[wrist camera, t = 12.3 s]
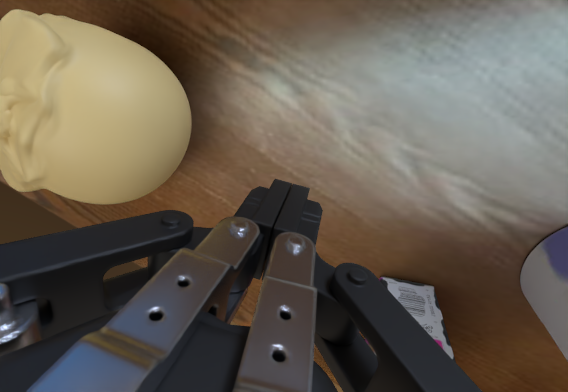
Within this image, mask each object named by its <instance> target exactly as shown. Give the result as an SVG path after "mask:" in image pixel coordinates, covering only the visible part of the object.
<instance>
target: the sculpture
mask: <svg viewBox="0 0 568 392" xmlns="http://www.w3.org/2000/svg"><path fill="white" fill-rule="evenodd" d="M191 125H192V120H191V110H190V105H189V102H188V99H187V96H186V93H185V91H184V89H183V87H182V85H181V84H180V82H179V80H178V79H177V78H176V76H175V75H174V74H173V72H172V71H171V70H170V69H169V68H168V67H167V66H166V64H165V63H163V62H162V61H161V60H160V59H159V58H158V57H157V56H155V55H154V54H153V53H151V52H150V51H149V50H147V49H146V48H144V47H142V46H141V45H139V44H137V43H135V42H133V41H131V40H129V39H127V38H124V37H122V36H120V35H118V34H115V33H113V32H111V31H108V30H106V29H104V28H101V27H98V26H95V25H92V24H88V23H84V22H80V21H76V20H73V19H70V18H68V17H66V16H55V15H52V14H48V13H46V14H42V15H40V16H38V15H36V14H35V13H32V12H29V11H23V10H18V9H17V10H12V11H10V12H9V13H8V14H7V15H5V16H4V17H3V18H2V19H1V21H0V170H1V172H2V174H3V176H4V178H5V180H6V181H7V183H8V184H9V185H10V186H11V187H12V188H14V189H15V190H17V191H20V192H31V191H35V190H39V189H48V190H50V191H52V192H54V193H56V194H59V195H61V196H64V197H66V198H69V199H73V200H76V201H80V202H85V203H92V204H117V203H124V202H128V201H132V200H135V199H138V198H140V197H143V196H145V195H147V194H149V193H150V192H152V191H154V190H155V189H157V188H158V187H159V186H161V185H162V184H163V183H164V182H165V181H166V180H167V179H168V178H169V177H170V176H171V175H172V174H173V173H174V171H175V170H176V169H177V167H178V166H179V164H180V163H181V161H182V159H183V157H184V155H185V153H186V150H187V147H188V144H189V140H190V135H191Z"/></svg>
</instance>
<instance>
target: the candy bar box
mask: <svg viewBox="0 0 568 392" xmlns="http://www.w3.org/2000/svg"><path fill="white" fill-rule="evenodd" d="M379 281H380V282H381V283H382V284H383V285H384V286H385V287H386V288H387V289H388V290H389V291H390V292H391V293H392V295H393V296H394V297H395V298H396V299H397V300H398V301H399V302H400V303H401V304H402V305H403V306H404V308H405V309H406V310H407V311H408V312H409V313H410V314H411V315H412V316H413V317H414V318H415V319H416V321H417V322H418V323H419V324H420V325H421V326H422V327H423V328H424V329H425V330H426V331H427V332H428V334H429V335H430V336H431V337H432V338H433V339H434V340H435V341H436V342H437V343H438V344H439V345H440V347H441V348H442V349H443V350H444V351H445V352H446V353H447V354H448V355H449V356H450V357H451V358H452V359H453V361H454V362H455V358H454V355H453V351H452V348H451V345H450V341H449V338H448V335H447V331H446V328H445V324H444V321H443V317H442V313H441V311H440V307H439V304H438V300H437V297H436V294H435V290H434V286H431V285H426V284H421V283H414V282H409V281H404V280H399V279H394V278H388V277H380V279H379ZM365 341H366V343H367V344H368V345H369V347H370V348H371V349H372V351H373V352H374V353H375V351H374V349H373V348H372V347H371V345H370V344H369V343H368V341H367V340H366V338H365ZM375 355H376V353H375ZM455 363H456V362H455Z"/></svg>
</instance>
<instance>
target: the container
mask: <svg viewBox="0 0 568 392" xmlns="http://www.w3.org/2000/svg"><path fill="white" fill-rule="evenodd" d="M520 284H521V289H522V292H523V294H524V296H525V298H526V299H527V301H528V302H529V304H530V305H531V307H532V308H533V310H534V311H535V313H536V314H537V316H538V317H539V319H540V320H541V321H542V323H543V324H544V325H545V327H546V329H547V330H548V332H549V333H550V335H551V336H552V338H553V339H554V341H555V343H556V344H557V346H558V347H559V349H560V350H561V352H562V353H563V355H564V356H565V358H566V359H567V361H568V227H566V228H563V229H561V230H559V231H557V232H555V233H554V234H552V235H550V236H549V237H547V238H546V239H545V240H543V241H542V242H541V243H540V244H539V245H537V246H536V247H535V248H534V250H533V251H532V252H531V253H530V254H529V256H528V257H527V259H526V261H525V263H524V265H523V267H522V270H521V275H520Z"/></svg>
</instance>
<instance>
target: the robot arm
mask: <svg viewBox="0 0 568 392" xmlns="http://www.w3.org/2000/svg"><path fill="white" fill-rule="evenodd" d="M291 186H292V187H291ZM309 190H310V188H307V187H303V186H300V185H296V184H293V185H292V183H289V182H285V181H282V180H278V179H275V180H274V181H273V183H272V185H271V187H270V188H269V189H268V188H264V187H261V186H259V187H257V188H255V189H253V190H251V192H250V193H249V195H248V196H247V197H246V199H245V200H244V202H243V203H242V205H241V206H240V208H239V209H238V211H237V212H236V213H235V215H234V216H233V217H227V218H225V219H223V220H221V221H220V222H219V223H218V224H217V225H216V227H215V228H201V227H193V219H192V218H191V217H190V216H189V215H188V214H186V213H184V212H181V211H175V210H165V211H159V212H155V213H150V214H145V215H140V216H135V217H130V218H126V219H121V220H116V221H111V222H106V223H101V224H97V225H92V226H87V227H82V228H77V229H73V230H68V231H63V232H58V233H53V234H48V235H44V236H39V237H34V238H29V239H24V240H20V241H15V242H10V243H5V244H0V392H338V391H337V389H336V388H335V386H334V384H333V382H332V381H331V380H330V378H329V377H328V375H327V374H326V373H325V372H324V371H323V369H322V368H321V367H320V366H319V365H318V364H317V363H316V362H315V361H313V359H314V343H315V345H316V346H317V348H318V350H319V351H320V353H321V355H322V356H323V358H324V360H325V361H326V363H327V365H328V367H329V368H330V370H331V372H332V373H333V375H334V377H335V378H336V380H337V382H338V383H339V385H340V387H341V388H342V390H343V392H482V391H481V390H480V389H479V388H478V387H477V385H476V384H475V383H474V382H473V381H472V380H471V379H470V378H469V377H468V376H467V375H466V374H465V372H464V371H463V370H462V369H461V368H460V367H459V366H458V365H457V364H456V363H455V362H454V361H453V359H452V358H451V357H450V356H449V355H448V354H447V353H446V352H445V351H444V350H443V349H442V348H441V347H440V345H439V344H438V343H437V342H436V341H435V340H434V339H433V338H432V337H431V336H430V335H429V334H428V332H427V331H426V330H425V329H424V328H423V327H422V326H421V325H420V324H419V323H418V322H417V321H416V319H415V318H414V317H413V316H412V315H411V314H410V313H409V312H408V311H407V310H406V309H405V308H404V306H403V305H402V304H401V303H400V302H399V301H398V300H397V299H396V298H395V297H394V296H393V295H392V293H391V292H390V291H389V290H388V289H387V288H386V287H385V286H384V285H383V284H382V283H381V282H380V281H379V279H378V278H377V277H376V276H375V275H374V274H373V273H372V272H371V271H369V270H368V269H366V268H365V267H363V266H360V265H358V264H354V263H343V264H340V265H338V266H337V267H336V268H335V267H333V266H331V265H329V264H328V263H326V262H325V261H323V260H322V259H321V258H320V257H319V255H318V254H317V252H316V247H315V245H316V240H317V235H318V230H319V225H320V220H321V216H322V211H323V210H322V208H321V206H320V204H319V203H318V202H314V201H311V200H307V197H308V193H309ZM145 257H148V267H145V268H142V269H139V270H135V271H132V272H129V273H126V274H123V275H119V276H116V277H113V278H110V279H106V280H103V276H104V274H105V273H106V272H107V271H108V270H109V269H110V268H112V267H114V266H117V265H121V264H124V263H127V262H131V261H134V260H138V259H141V258H145ZM263 271H264V273H263ZM262 273H263V277H262V280H263V283H262V286H261V290H260V294H259V297H258V301H257V305H256V308H255V312H254V316H253V319H252V323H251V327H249V326H238V325H230V323H231V321H232V320H233V318H234V316H235V314H236V312H237V311H238V309H239V307H240V305H241V303H242V302H243V300H244V298H245V296H246V294H247V290H248V286H249V285H250V284H251V281H252V279H253V278H256V279H259V280H260V278H261V276H262ZM359 331H360V332H361V333H362V334H363V336H364V337H365V338H366V340H367V341H368V343H369V344H370V345H371V347H372V348H373V349H374V351H375V353H376V355H375V353H374V352H373V351H372V349H371V348H370V347H369V345H368V344H367V343H366V341H365V340H364V339H363V337H362V336H361V334H360V333H359Z"/></svg>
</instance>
